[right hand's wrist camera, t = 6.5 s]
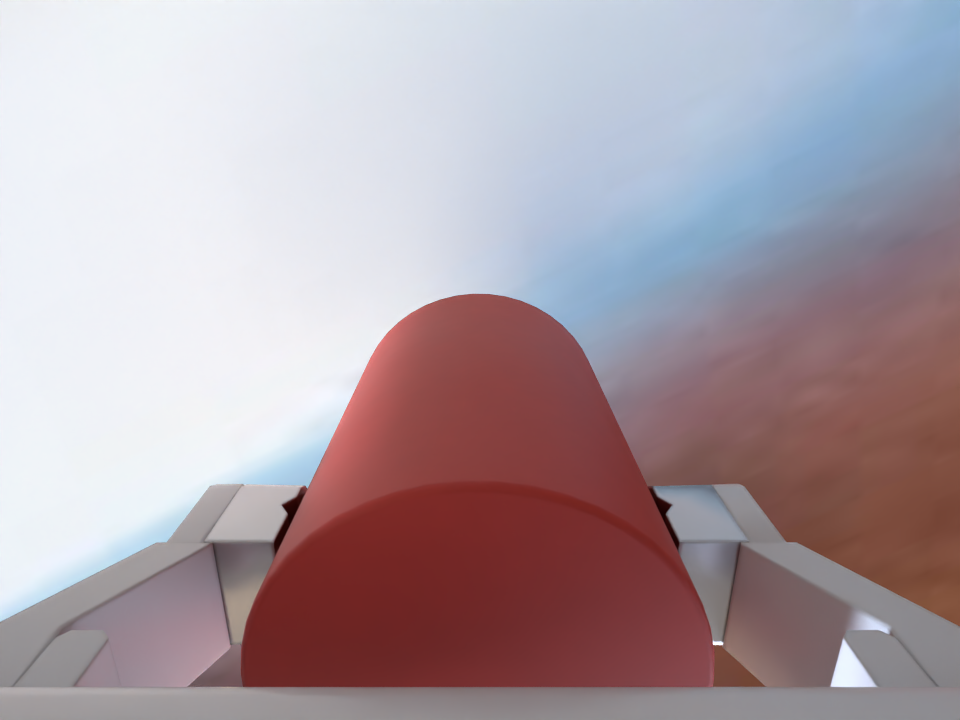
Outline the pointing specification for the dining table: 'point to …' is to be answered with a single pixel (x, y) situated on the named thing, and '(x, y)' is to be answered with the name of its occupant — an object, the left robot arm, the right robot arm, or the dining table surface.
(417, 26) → the dining table surface
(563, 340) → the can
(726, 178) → the dining table surface
